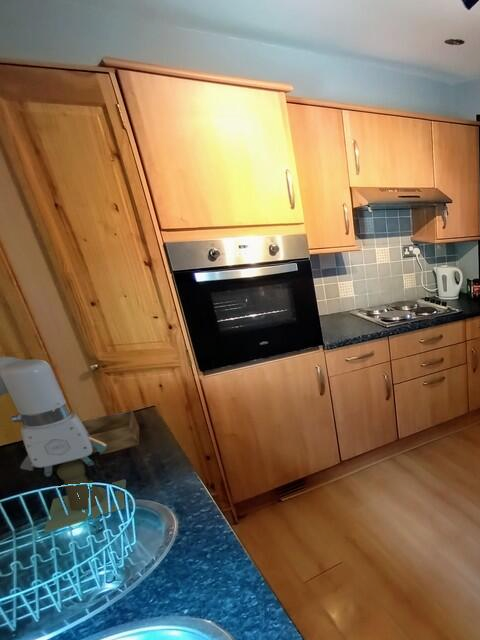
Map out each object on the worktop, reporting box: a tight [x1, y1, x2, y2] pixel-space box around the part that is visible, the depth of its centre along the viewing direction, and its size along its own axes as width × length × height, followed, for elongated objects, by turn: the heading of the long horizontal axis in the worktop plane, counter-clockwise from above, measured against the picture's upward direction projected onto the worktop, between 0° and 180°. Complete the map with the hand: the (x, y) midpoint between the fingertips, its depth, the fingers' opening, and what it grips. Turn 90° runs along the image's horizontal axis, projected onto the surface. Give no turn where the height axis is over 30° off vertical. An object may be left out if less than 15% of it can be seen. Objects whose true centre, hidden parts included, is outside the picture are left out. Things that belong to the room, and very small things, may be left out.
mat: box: [44, 478, 127, 534], centre depth 110 cm, size 14×14×1 cm
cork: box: [57, 459, 103, 510], centre depth 107 cm, size 6×6×11 cm
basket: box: [79, 409, 140, 460], centre depth 135 cm, size 13×13×6 cm
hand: (77, 481), depth 107 cm, fingers closed on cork, 5 cm apart
